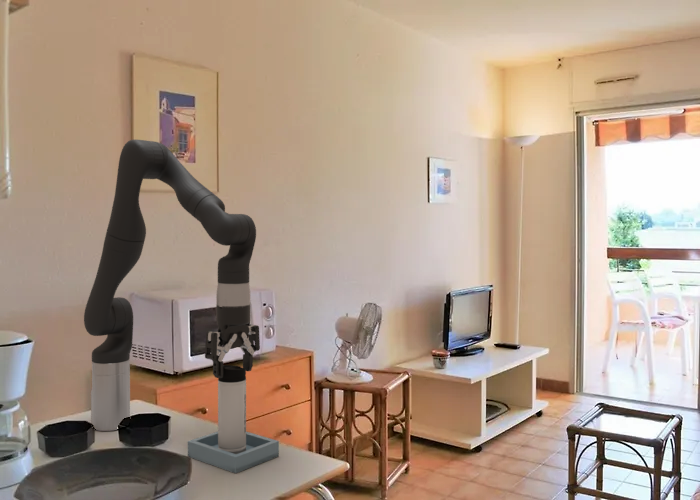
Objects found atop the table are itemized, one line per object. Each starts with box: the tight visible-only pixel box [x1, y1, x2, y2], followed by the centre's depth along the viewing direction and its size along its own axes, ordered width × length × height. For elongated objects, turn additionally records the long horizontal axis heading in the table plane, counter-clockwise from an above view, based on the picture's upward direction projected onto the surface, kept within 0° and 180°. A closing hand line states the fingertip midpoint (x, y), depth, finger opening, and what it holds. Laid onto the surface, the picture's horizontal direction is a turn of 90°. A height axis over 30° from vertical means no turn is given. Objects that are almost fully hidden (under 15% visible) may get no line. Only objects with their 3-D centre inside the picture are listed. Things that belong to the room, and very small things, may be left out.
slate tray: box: [187, 431, 280, 474], centre depth 148 cm, size 16×13×4 cm
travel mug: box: [217, 364, 247, 454], centre depth 147 cm, size 6×7×20 cm
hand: (233, 374), depth 147 cm, fingers open, 8 cm apart
